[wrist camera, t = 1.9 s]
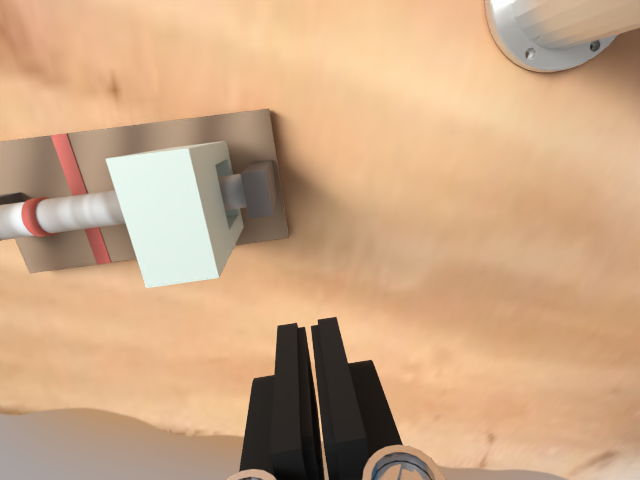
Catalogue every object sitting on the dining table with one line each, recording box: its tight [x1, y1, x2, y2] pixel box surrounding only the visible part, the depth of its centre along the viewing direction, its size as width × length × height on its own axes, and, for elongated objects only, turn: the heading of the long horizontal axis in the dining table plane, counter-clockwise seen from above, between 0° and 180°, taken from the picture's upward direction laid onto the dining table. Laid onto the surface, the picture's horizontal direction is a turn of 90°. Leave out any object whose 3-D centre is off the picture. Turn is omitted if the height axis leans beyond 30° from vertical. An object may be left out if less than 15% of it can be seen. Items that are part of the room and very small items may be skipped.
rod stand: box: [0, 109, 289, 273], centre depth 26 cm, size 23×11×8 cm, turn 97°
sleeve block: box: [106, 141, 244, 288], centre depth 22 cm, size 4×7×10 cm, turn 7°
